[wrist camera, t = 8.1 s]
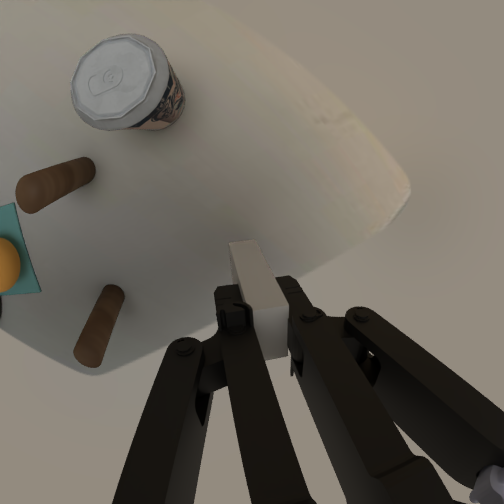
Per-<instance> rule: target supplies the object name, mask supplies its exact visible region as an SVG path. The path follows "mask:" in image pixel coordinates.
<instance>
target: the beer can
mask: <svg viewBox="0 0 504 504" xmlns="http://www.w3.org/2000/svg"><path fill="white" fill-rule="evenodd" d="M70 85H71V98H72V102H73V105H74V108H75V111H76V112H77V114H78V115H79V116H80V118H81V119H82V120H83V121H84V122H86V123H87V124H89V125H91V126H92V127H94V128H97V129H101V130H108V131H110V130H120V129H145V130H160V129H163V128H166V127H168V126H169V125H171V124H172V123H174V122H175V121H176V120H177V119H178V118H179V116H180V115H181V113H182V110H183V108H184V104H185V95H184V91H183V88H182V86H181V84H180V82H179V80H178V78H177V77H176V75H175V73H174V71H173V69H172V67H171V65H170V63H169V61H168V59H167V57H166V56H165V53H164V51H163V50H162V48H161V47H160V46H159V45H158V44H157V43H156V42H155V41H153V40H151V39H149V38H147V37H145V36H142V35H138V34H120V35H116V36H113V37H110V38H107V39H103V40H101V41H100V42H99V43H97V44H96V45H95V46H94V47H92V48H91V49H90V50H89V51H88V52H86V53H85V54H84V55H83V56H82V57H80V59H79V62H78V64H77V67H76V69H75V71H74V74H73V77H72V79H71V82H70Z"/></svg>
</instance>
